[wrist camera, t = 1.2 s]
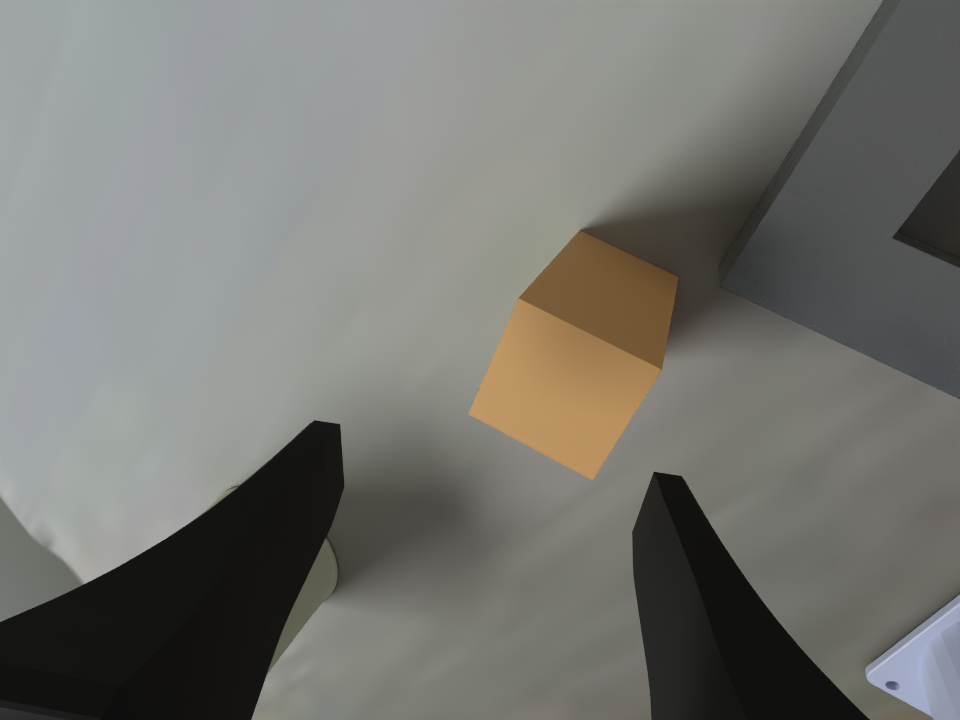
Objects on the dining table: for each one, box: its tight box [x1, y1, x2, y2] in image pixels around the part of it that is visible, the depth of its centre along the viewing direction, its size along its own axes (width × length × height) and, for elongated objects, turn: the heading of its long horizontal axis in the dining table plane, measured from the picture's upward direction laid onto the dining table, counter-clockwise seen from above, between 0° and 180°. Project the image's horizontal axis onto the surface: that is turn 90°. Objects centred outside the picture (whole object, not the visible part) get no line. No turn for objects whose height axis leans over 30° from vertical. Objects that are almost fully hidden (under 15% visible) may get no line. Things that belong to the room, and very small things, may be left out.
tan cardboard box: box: [469, 230, 679, 480], centre depth 19 cm, size 4×4×8 cm
